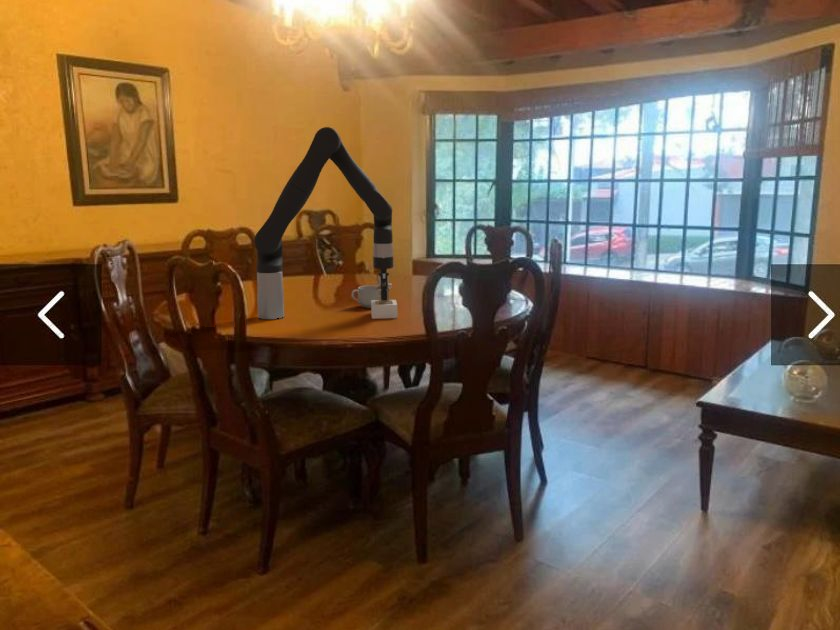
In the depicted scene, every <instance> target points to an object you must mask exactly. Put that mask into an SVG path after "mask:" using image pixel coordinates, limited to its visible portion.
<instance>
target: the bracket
mask: <svg viewBox="0 0 840 630" xmlns="http://www.w3.org/2000/svg"><path fill="white" fill-rule="evenodd" d="M375 286H376V289H378V295H379V304H389V300H390V290H392V289H393V284H392V283H391V282H390V283H388V289H387V300H383V301H382V300H381V289H380V287H381V286H380V285H379V283H375ZM382 286H386V285H382Z"/></svg>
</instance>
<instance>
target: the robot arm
mask: <svg viewBox="0 0 840 630" xmlns="http://www.w3.org/2000/svg"><path fill="white" fill-rule="evenodd" d="M303 157H304V158H303V159H302V160H301V162H300V163H299V165H297V167H296V168H295V170H294V171H293V173H292V175H291V176H290V177H289V179H288V181H287V182H286V184H285V186H284V187H283V189H282V191H281V192H280V194H279V196H278V199H277V200H276V203H275V204H274V207H273V208H272V211H271V213H270V215H269V216H268V218H267V219H266V221H265V222H264V223H263V225H262V226H261V227H260V228H259V230H258V231H257V232H256V233H255V235H254V238H253V243H254V244H253V245H254V247H255V250H256V251H257V255H256V256H257V260H256V261H257V262H256V279H257V281H256V283H257V292H256V293H257V294H256V296H257V297H256V301H257V304H256V305H257V319H258V318H261V319H260V320H278V319H277V318H279V319H283V318H284V317H285V301H284V300H285V299H284V280H283V279H284V278H283V277H284V276H283V261H284V259H283V254H284V253H283V236H284V234H285V232H286V230H287V228H288V227H289V225H290V224H291V222H292V221H293V220H294V219H295V218H296V217H297V215H298V214H299V213H300V211H301V210H302V209H303V207H304V206H305V204H306V203H307V201H308V199H309V198H310V196H311V194H312V193H313V191H314V189H315V187H316V185H317V183H318V181H319V177H320V175H321V172H322V170H323V169H324V167H325V165H326V163H328V161H329V160H330V161H332V163H333V164H335V166H336V167H337V168H338V170H339V171H340V172H341V173H342V175H343V177H344V178H345V179H346V182H347V183H348V184H349V186H350V187H351V188H352V189H353V191H354V192H355V194H357V196H358V197H359V198H360V199H361V200H362V202H364V203H365V205H366V207H367V208H368V209H369V211H370V212H371V214H372V215H373V225H374V226H373V247H372V262H373V264H372V266H373V269H376V270H378V271H379V272H378V274H377V279H378V284H379V285H380V286H381V287H380V289H381V300H382V301H383V300H387V289H388V283H389V278H390V273H389V272H388V269H389V270H391V269H393V268H394V245H393V243H394V242H393V241H394V239H393V228H392V227H393V225H392V223H393V207H392V205H391V204H390V202H389V201H388V200H387V199H386V198H385V197H384V196H383V195H382V194H381V193H380V191H379V190H378V188H377V186H376V185H375V183H374V182H373V181H372V180H371V178H370V177H369V176H368V175H367V174H366V172H365V171H364V170H363V169H362V168H361V167H360V166H359V165H358V163H357V162H356V161H355V160H354V158H353V157H352V156H351V155H350V153H349V151H348V150H347V149H346V146H345V144H344V143H343V141H342V139H341V136H340V134H339V133H338V132H337V130H335V128H333V127H330V126H324V127H321V128H320V129H318V130H317V131H316V133H314V137H313V139H312V141H311V144H310V145H309V148H308V150H307V152H306V154H305V156H303ZM382 285H386V286H382ZM282 317H283V318H282Z"/></svg>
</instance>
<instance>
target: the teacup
mask: <svg viewBox="0 0 840 630" xmlns="http://www.w3.org/2000/svg"><path fill="white" fill-rule="evenodd" d="M355 293H357V298H356V297H355ZM350 296H351V298H352V299H353V300H354V301H356V302H357V303H358V304H360V306H362V307H363V308H366V309H371V300H379V295H378V289H376V285H361V286H358V287H357V289H353V290H352V291H351V295H350Z"/></svg>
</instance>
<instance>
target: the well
mask: <svg viewBox="0 0 840 630" xmlns="http://www.w3.org/2000/svg"><path fill="white" fill-rule="evenodd" d="M370 310H371V311H370V313H371V319H373V320H374V319H399V318H398V317H399V316H398V303H397V300H396V299H389V304H379V300H371V308H370Z"/></svg>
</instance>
